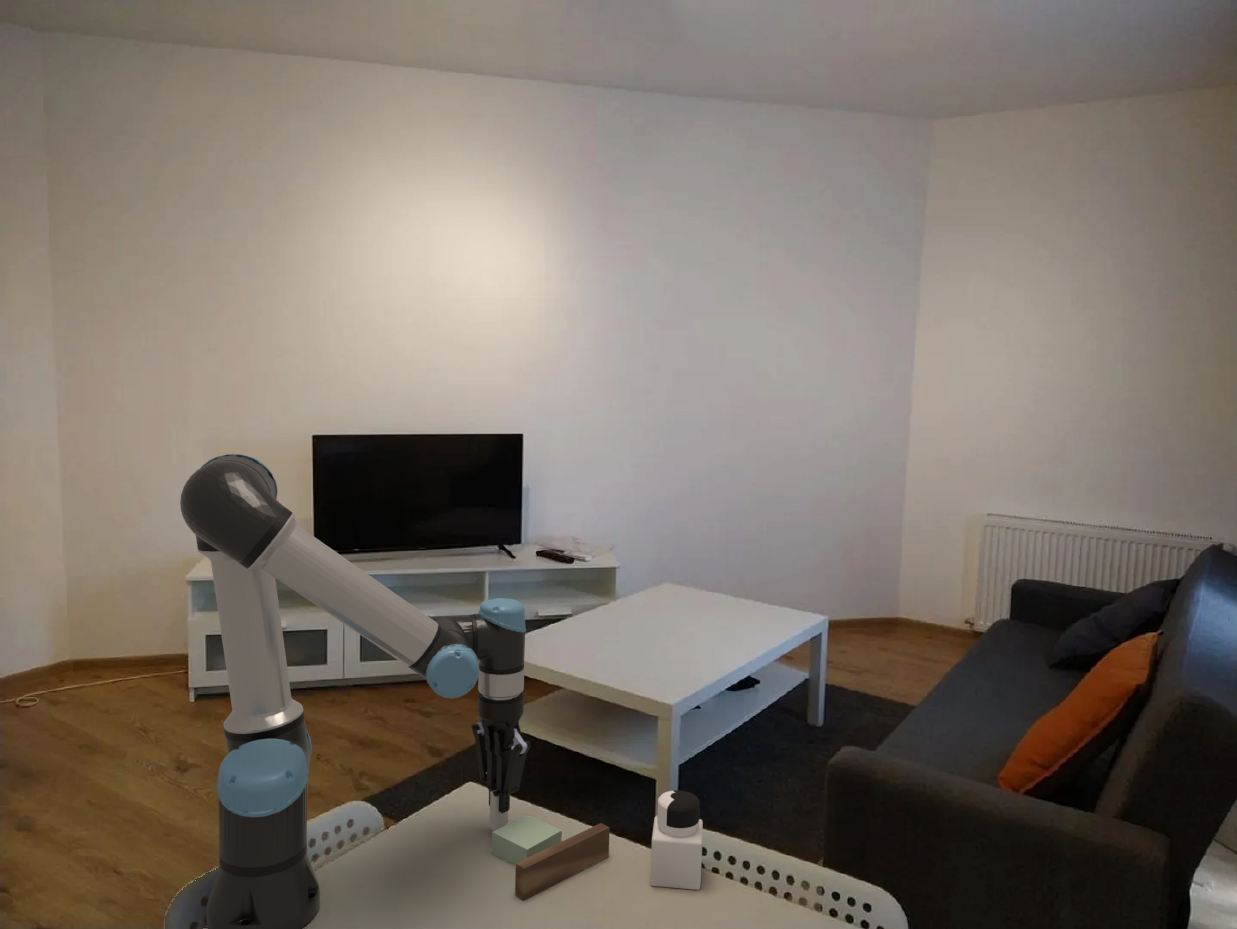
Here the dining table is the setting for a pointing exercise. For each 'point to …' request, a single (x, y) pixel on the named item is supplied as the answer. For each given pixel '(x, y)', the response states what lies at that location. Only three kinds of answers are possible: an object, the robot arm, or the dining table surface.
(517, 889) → the board
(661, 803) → the container
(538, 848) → the block
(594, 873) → the dining table surface
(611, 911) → the dining table surface
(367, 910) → the dining table surface
